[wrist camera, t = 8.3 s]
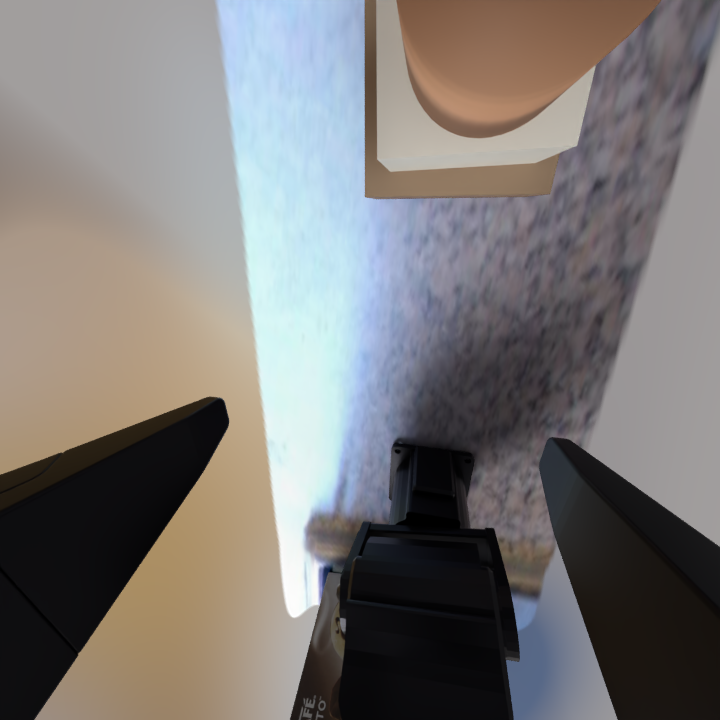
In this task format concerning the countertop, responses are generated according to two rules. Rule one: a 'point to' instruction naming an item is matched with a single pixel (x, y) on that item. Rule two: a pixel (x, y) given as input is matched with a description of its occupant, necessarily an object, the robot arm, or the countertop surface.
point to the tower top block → (442, 148)
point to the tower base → (439, 181)
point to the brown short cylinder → (506, 55)
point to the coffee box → (322, 661)
